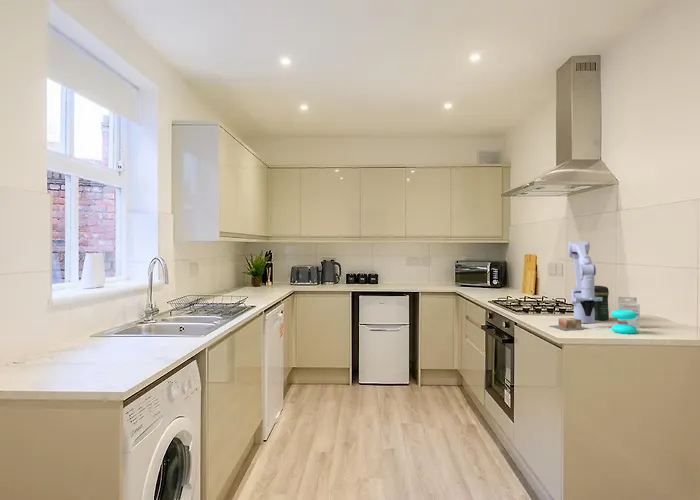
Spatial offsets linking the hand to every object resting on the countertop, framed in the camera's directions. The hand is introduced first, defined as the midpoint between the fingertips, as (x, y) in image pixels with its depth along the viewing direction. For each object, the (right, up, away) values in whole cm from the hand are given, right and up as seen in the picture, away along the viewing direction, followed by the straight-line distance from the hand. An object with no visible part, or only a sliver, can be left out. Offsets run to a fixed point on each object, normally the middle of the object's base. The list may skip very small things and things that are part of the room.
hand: (587, 315), depth 217 cm
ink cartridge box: (+20, -6, 0) cm, 21 cm away
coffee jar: (+19, -6, +24) cm, 32 cm away
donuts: (+9, -6, -14) cm, 18 cm away
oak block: (-6, -3, -1) cm, 7 cm away
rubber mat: (-12, -6, -2) cm, 13 cm away
